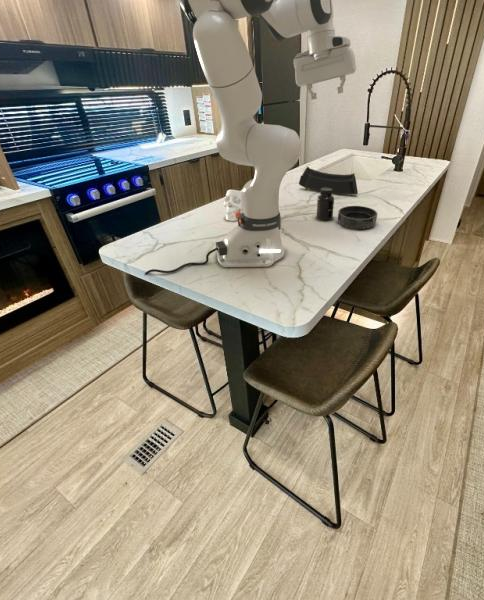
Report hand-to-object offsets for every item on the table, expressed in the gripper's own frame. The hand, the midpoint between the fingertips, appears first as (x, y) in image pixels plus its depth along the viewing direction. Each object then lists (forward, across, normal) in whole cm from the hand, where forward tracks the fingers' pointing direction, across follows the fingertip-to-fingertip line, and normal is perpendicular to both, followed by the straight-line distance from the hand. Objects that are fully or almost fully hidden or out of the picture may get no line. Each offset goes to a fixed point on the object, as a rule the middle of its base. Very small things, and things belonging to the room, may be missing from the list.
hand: (327, 96), depth 111 cm
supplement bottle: (+43, -7, +3) cm, 44 cm away
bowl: (+46, +6, +2) cm, 46 cm away
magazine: (+39, -15, +37) cm, 56 cm away
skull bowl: (+36, -42, -7) cm, 56 cm away
